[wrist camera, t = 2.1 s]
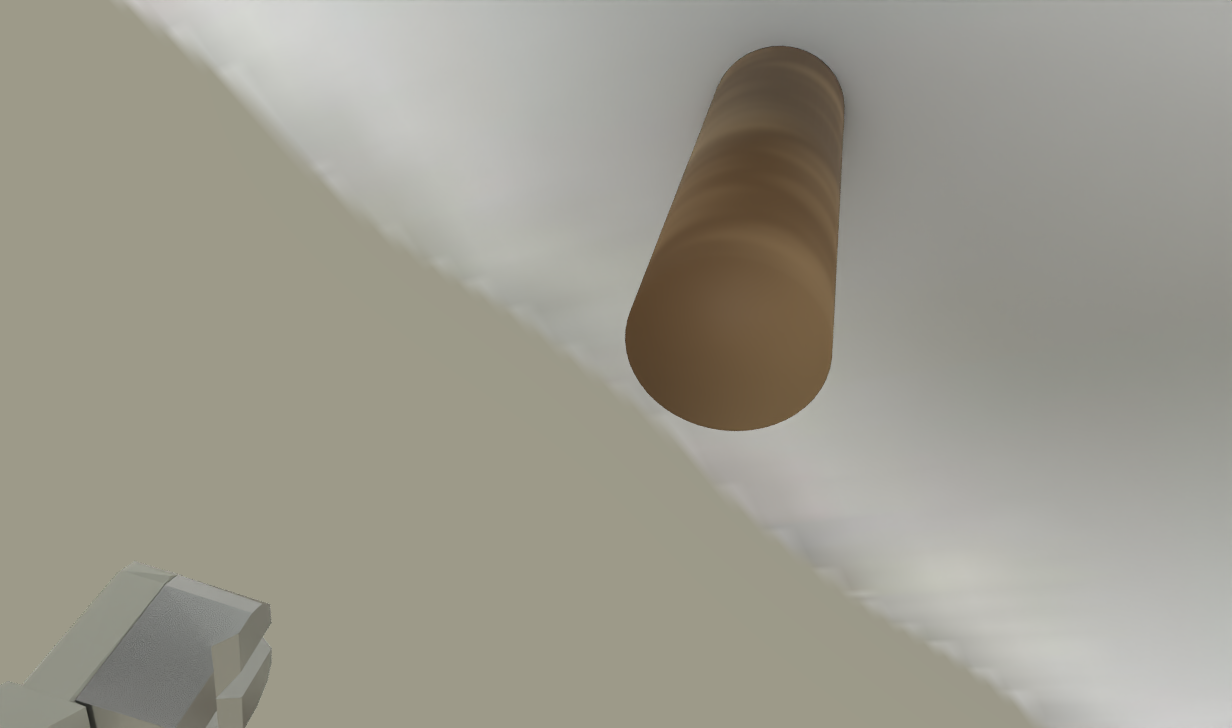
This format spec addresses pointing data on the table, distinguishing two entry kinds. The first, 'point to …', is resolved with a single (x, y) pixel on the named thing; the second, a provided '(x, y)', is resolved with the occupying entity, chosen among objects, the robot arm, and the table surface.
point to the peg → (748, 252)
